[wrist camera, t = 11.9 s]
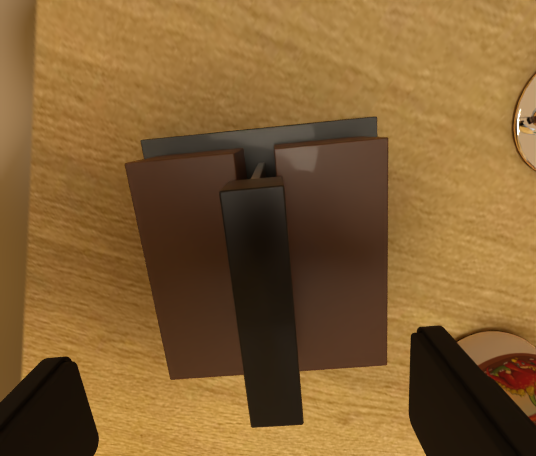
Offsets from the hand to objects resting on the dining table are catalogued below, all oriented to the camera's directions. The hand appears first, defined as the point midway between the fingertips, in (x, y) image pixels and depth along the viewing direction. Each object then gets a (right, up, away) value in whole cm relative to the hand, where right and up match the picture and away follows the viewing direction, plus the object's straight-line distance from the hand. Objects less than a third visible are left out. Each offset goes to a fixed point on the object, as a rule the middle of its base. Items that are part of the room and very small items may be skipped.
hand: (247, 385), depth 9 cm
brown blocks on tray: (+1, +4, +13) cm, 14 cm away
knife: (+1, +4, +12) cm, 13 cm away
